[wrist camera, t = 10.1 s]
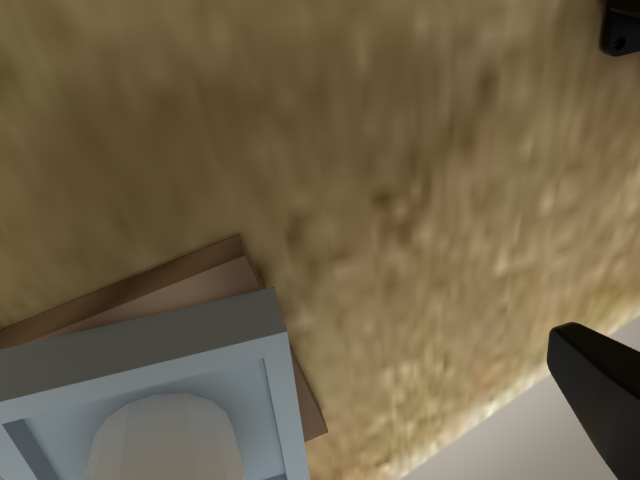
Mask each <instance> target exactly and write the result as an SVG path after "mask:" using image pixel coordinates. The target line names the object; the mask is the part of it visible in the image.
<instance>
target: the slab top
mask: <svg viewBox="0 0 640 480" xmlns="http://www.w3.org/2000/svg"><path fill="white" fill-rule="evenodd" d="M170 393H188V394H192V395H196V396H199V397H203V398H207V399H210V400H212V401H213V402H214V403H216V404H217V405H218V406H220V407H221V408H222V409H224V410H225V411H226V412H227V413H228V416H229V418H230V421H231V423H232V426H233V428H234V432H235V436H236V440H237V443H238V447H239V451H240V455H241V458H242V462H243V466H244V470H245V473H246V477H247V480H310V476H309V469H308V463H307V456H306V450H305V443H304V437H303V430H302V424H301V417H300V411H299V404H298V398H297V391H296V385H295V378H294V372H293V365H292V359H291V352H290V346H289V339H288V333H287V329H286V326H285V323H284V320H283V316H282V313H281V310H280V307H279V304H278V301H277V298H276V294H275V291H274V288H273V287H272V288H268V289H263V290H260V291H255V292H251V293H246V294H242V295H238V296H233V297H229V298H225V299H220V300H216V301H212V302H207V303H203V304H198V305H194V306H190V307H185V308H181V309H177V310H172V311H168V312H164V313H159V314H155V315H150V316H146V317H142V318H137V319H133V320H129V321H124V322H120V323H115V324H111V325H107V326H102V327H98V328H94V329H89V330H85V331H81V332H76V333H72V334H67V335H63V336H59V337H54V338H50V339H46V340H41V341H37V342H33V343H28V344H24V345H18V346H14V347H10V348H5V349H1V350H0V476H1V477H2V479H3V480H84V477H85V472H86V468H87V464H88V460H89V456H90V451H91V447H92V443H93V439H94V436H95V434H96V433H97V431H98V430H99V428H100V427H101V425H102V424H103V422H104V421H105V419H106V418H107V417H108V416H110V415H111V414H113V413H114V412H116V411H117V410H119V409H120V408H122V407H123V406H125V405H126V404H128V403H130V402H133V401H136V400H139V399H143V398H146V397H149V396H152V395H155V394H170Z"/></svg>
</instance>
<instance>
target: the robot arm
mask: <svg viewBox="0 0 640 480" xmlns="http://www.w3.org/2000/svg"><path fill="white" fill-rule="evenodd" d="M617 39H618V42H617V44H616V45H615V47H614V44H615V42H616V40H617ZM602 50H603V52H604V53H605V54H607V55H611V56H614V57H615V56H622V55H626V54H630V53H634V52H638V51H640V0H608V6H607V13H606V19H605V26H604V32H603V38H602ZM547 364H548V368H549V370H550V372H551V374H552V376H553V378H554V379H555V381H556V382H557V384H558V386H559V388H560V389H561V391H562V393H563V395H564V396H565V398H566V400H567V401H568V403H569V404H570V406H571V408H572V410H573V411H574V413H575V415H576V416H577V418H578V419H579V422H580V423H581V425H582V426H583V428H584V430H585V432H586V433H587V435H588V437H589V438H590V440H591V442H592V443H593V445H594V446H595V448H596V450H597V451H598V452H599V454H600V455H601V457H602V458H603V460H604V461H605V462H606V464H607V465H608V467H609V468H610V469H611V471H612V472H613V473H614V474H615V476H616V477H617V479H618V480H640V352H639V351H636V350H635V349H632V348H630V347H628V346H626V345H624V344H622V343H619V342H617V341H615V340H613V339H611V338H609V337H607V336H605V335H602V334H600V333H598V332H596V331H594V330H592V329H590V328H587V327H585V326H583V325H581V324H579V323H575V322H569V323H566V324H563V325H560V326H557V327H554V328H552V330H551V331H550V333H549V342H548V352H547Z"/></svg>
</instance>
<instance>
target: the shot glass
mask: <svg viewBox="0 0 640 480" xmlns="http://www.w3.org/2000/svg"><path fill="white" fill-rule="evenodd" d="M84 480H247V477H246V473H245V470H244V466H243V462H242V458H241V455H240V451H239V447H238V443H237V440H236V436H235V432H234V428H233V426H232V423H231V421H230V418H229V416H228V413H227V412H226V411H225V410H224V409H222V408H221V407H220V406H218V405H217V404H216V403H214V402H213V401H212V400H210V399H207V398H203V397H199V396H196V395H192V394H188V393H170V394H155V395H152V396H149V397H146V398H143V399H139V400H136V401H133V402H130V403H128V404H126V405H125V406H123V407H122V408H120V409H119V410H117V411H116V412H114V413H113V414H111V415H110V416H108V417H107V418H106V419H105V421H104V422H103V424H102V425H101V427H100V428H99V430H98V431H97V433H96V434H95V436H94V439H93V443H92V447H91V451H90V456H89V460H88V464H87V468H86V472H85V477H84Z"/></svg>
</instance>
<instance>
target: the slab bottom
mask: <svg viewBox="0 0 640 480" xmlns="http://www.w3.org/2000/svg"><path fill="white" fill-rule="evenodd" d="M263 289H264V286H263V284H262V282H261V280H260V278H259V276H258V274H257V271H256V269H255V267H254V265H253V263H252V261H251V259H250V256H249V254H248V252H247V250H246V248H245V246H244V244H243V241H242V239H241V237H240V235H236V236H234V237H231V238H229V239H226V240H224V241H221V242H219V243H216V244H214V245H211V246H209V247H206V248H204V249H201V250H199V251H196V252H194V253H191V254H189V255H186V256H184V257H181V258H179V259H176V260H174V261H171V262H169V263H166V264H164V265H161V266H159V267H156V268H154V269H151V270H149V271H146V272H144V273H141V274H139V275H136V276H134V277H131V278H129V279H126V280H124V281H121V282H119V283H116V284H114V285H111V286H109V287H106V288H104V289H101V290H99V291H96V292H94V293H91V294H89V295H86V296H84V297H81V298H79V299H76V300H74V301H71V302H69V303H66V304H64V305H61V306H59V307H56V308H54V309H51V310H49V311H46V312H44V313H41V314H39V315H36V316H34V317H31V318H29V319H26V320H24V321H21V322H19V323H16V324H14V325H11V326H9V327H6V328H4V329H1V330H0V350H1V349H5V348H10V347H14V346H18V345H24V344H28V343H33V342H37V341H41V340H46V339H50V338H54V337H59V336H63V335H67V334H72V333H76V332H81V331H85V330H89V329H94V328H98V327H102V326H107V325H111V324H115V323H120V322H124V321H129V320H133V319H137V318H142V317H146V316H150V315H155V314H159V313H164V312H168V311H172V310H177V309H181V308H185V307H190V306H194V305H198V304H203V303H207V302H212V301H216V300H220V299H225V298H229V297H233V296H238V295H242V294H246V293H251V292H255V291H260V290H263ZM289 346H290V352H291V359H292V365H293V372H294V378H295V385H296V391H297V398H298V404H299V411H300V417H301V424H302V430H303V437H304V442H306V441H308V440H311V439H313V438H315V437H318V436H320V435H322V434H325V433H327V432H328V430H327V427H326V424H325V421H324V418H323V415H322V412H321V409H320V407H319V404H318V402H317V400H316V398H315V396H314V394H313V392H312V389H311V387H310V385H309V383H308V381H307V379H306V377H305V374H304V372H303V370H302V368H301V366H300V364H299V362H298V359H297V357H296V355H295V353H294V351H293V349H292V347H291V344H290V342H289Z"/></svg>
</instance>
